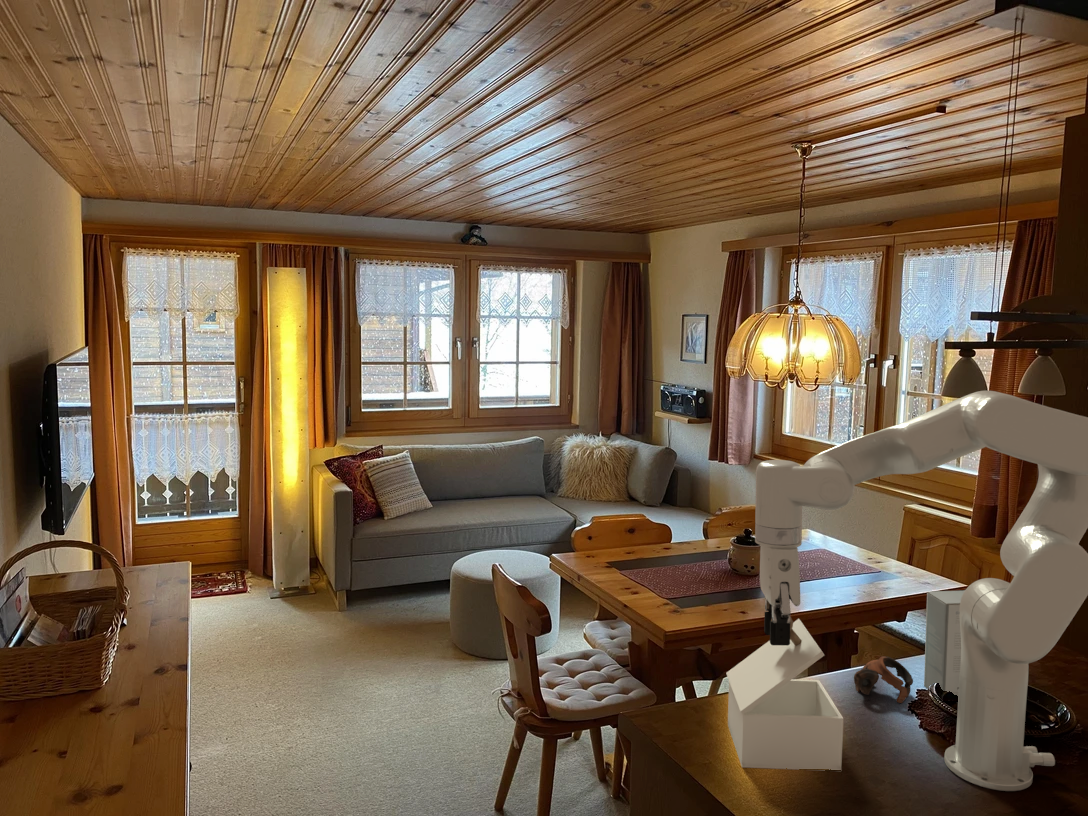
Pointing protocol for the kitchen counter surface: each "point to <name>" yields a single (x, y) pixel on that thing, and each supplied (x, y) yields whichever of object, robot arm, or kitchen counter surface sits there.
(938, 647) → the hard drive box
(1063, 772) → the kitchen counter surface
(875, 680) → the broken clay pot
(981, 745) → the robot arm
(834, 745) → the carton
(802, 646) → the carton lid
